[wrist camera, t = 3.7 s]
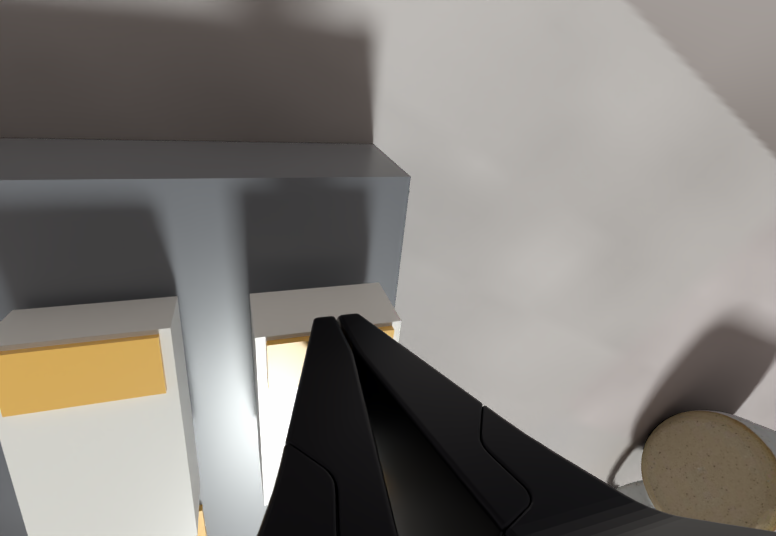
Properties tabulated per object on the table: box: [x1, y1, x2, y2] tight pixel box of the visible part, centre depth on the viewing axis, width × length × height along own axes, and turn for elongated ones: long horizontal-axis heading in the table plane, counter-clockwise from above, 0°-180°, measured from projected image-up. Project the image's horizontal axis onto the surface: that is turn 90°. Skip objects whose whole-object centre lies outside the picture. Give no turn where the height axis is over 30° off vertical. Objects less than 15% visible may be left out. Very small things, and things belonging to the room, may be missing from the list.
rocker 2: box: [250, 282, 401, 506], centre depth 11 cm, size 5×3×2 cm, turn 174°
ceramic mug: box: [616, 410, 776, 532], centre depth 26 cm, size 11×8×8 cm
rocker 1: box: [0, 296, 200, 536], centre depth 10 cm, size 5×3×2 cm, turn 174°
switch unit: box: [0, 138, 411, 536], centre depth 13 cm, size 14×14×3 cm
